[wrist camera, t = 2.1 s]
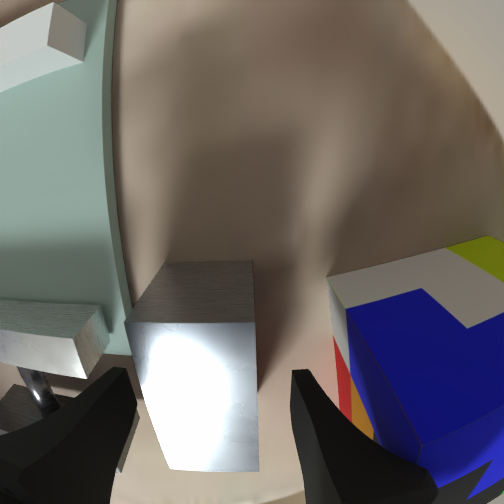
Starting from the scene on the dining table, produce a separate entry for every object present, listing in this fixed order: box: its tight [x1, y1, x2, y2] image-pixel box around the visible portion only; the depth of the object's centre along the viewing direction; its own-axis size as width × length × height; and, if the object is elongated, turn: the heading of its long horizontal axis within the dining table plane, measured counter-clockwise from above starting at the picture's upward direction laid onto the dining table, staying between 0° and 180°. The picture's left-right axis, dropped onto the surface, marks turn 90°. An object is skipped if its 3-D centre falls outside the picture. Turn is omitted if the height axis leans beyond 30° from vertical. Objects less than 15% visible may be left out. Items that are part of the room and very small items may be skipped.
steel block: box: [124, 260, 259, 472], centre depth 13 cm, size 4×8×6 cm, turn 2°
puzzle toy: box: [326, 236, 504, 504], centre depth 11 cm, size 10×10×10 cm
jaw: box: [0, 300, 140, 473], centre depth 13 cm, size 10×8×4 cm
